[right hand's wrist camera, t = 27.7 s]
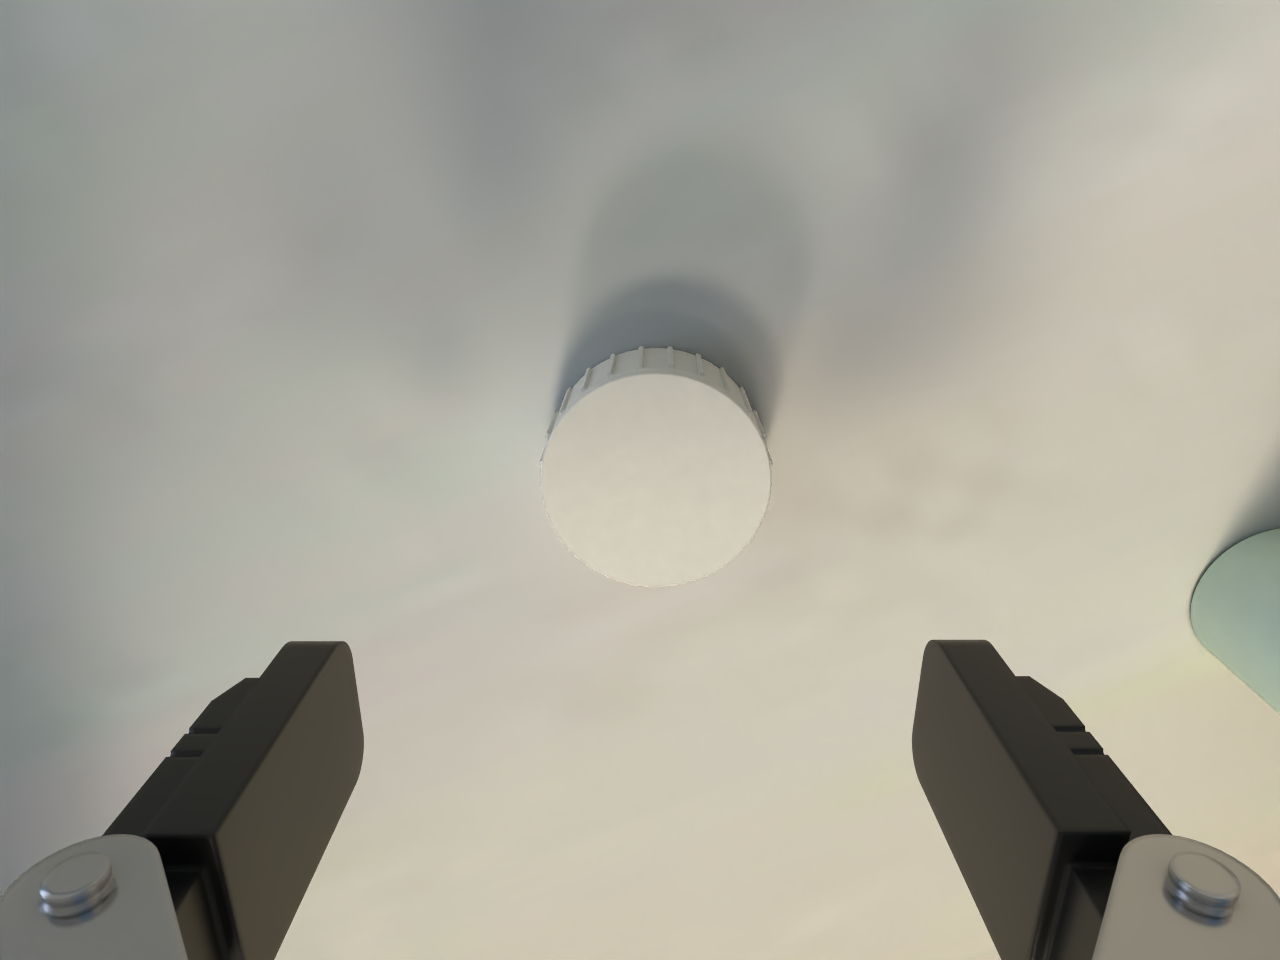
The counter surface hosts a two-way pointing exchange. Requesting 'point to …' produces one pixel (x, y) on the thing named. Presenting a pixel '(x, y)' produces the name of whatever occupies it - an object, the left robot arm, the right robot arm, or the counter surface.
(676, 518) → the lid
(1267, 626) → the pale green cylinder
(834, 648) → the counter surface
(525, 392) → the counter surface
